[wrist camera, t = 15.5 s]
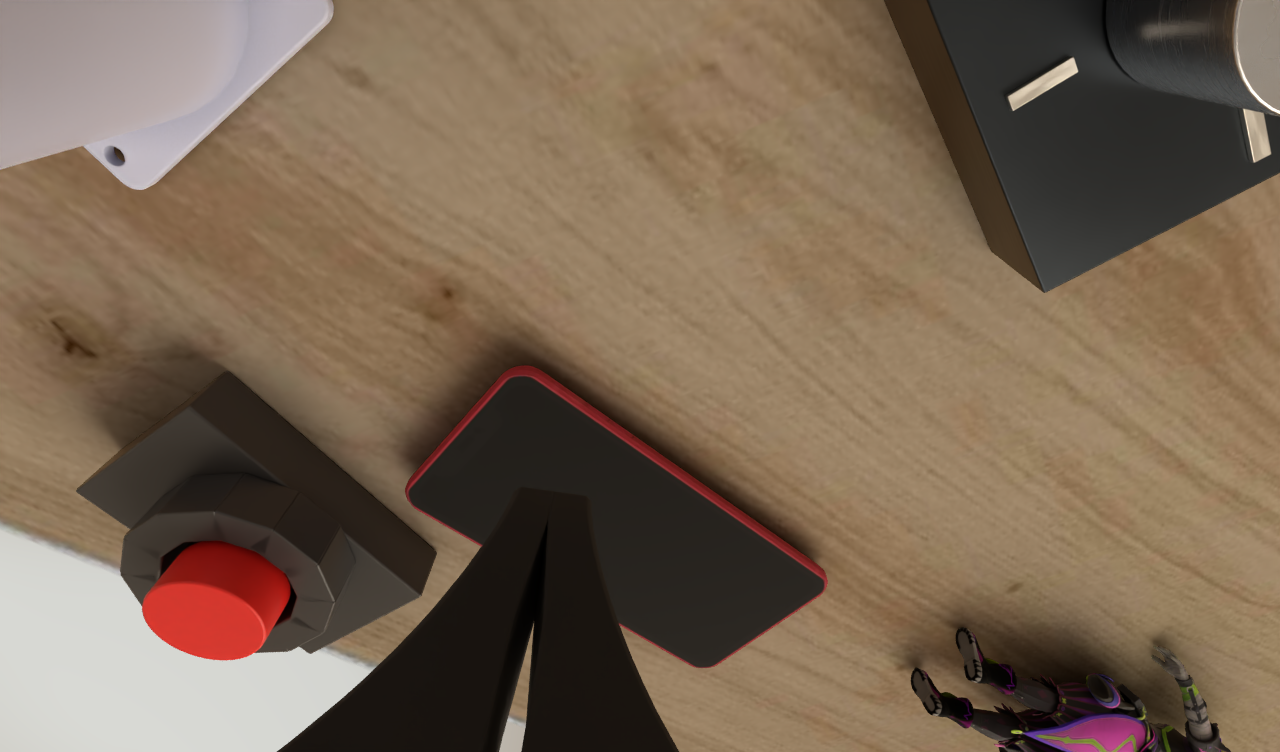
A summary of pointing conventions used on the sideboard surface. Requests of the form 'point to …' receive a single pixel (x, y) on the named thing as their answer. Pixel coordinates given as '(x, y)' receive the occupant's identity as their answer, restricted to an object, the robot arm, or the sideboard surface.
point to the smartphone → (620, 517)
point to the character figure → (1069, 710)
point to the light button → (217, 601)
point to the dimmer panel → (1070, 133)
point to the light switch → (260, 514)
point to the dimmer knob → (1201, 48)
